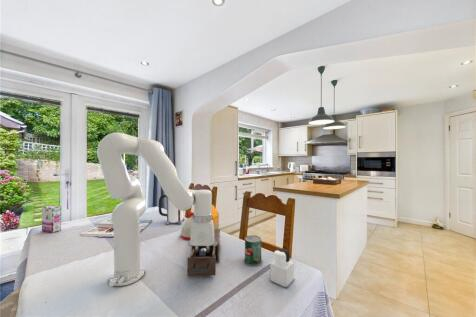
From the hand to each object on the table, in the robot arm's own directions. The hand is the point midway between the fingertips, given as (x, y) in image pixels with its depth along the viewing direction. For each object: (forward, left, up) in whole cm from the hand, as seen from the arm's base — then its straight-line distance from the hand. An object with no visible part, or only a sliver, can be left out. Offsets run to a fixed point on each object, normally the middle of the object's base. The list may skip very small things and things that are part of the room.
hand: (202, 259), depth 87 cm
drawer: (0, 0, -4) cm, 4 cm away
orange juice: (+35, 0, -5) cm, 35 cm away
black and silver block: (+2, 0, 0) cm, 2 cm away
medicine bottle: (-8, -33, -5) cm, 35 cm away
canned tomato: (+7, -23, -5) cm, 25 cm away
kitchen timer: (+40, +12, -5) cm, 42 cm away
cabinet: (+16, 0, -5) cm, 16 cm away
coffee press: (+66, +31, -5) cm, 73 cm away
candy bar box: (+52, +109, -5) cm, 121 cm away
